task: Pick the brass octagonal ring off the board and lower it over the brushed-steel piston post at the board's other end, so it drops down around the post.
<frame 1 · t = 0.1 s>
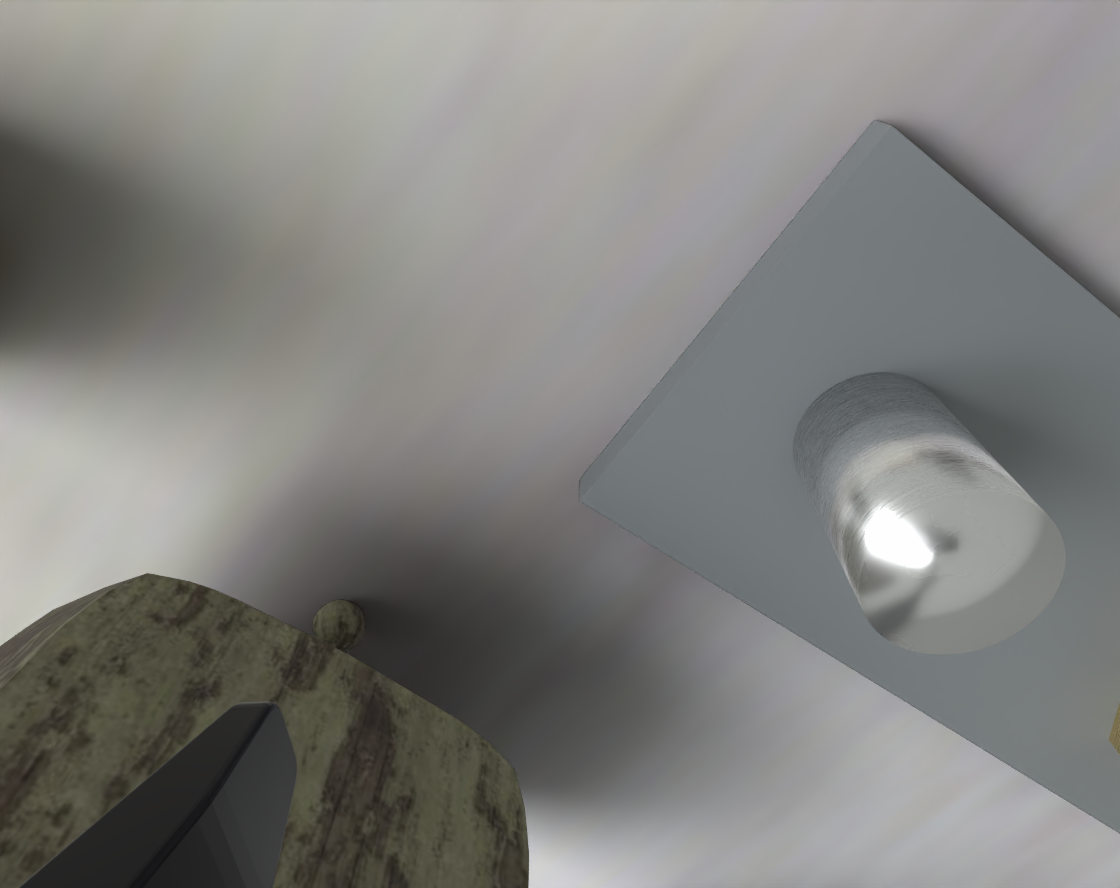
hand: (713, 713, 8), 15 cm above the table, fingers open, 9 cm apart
fit board: (1045, 558, 25), on the table
tabletop clock: (320, 643, 27), on the table
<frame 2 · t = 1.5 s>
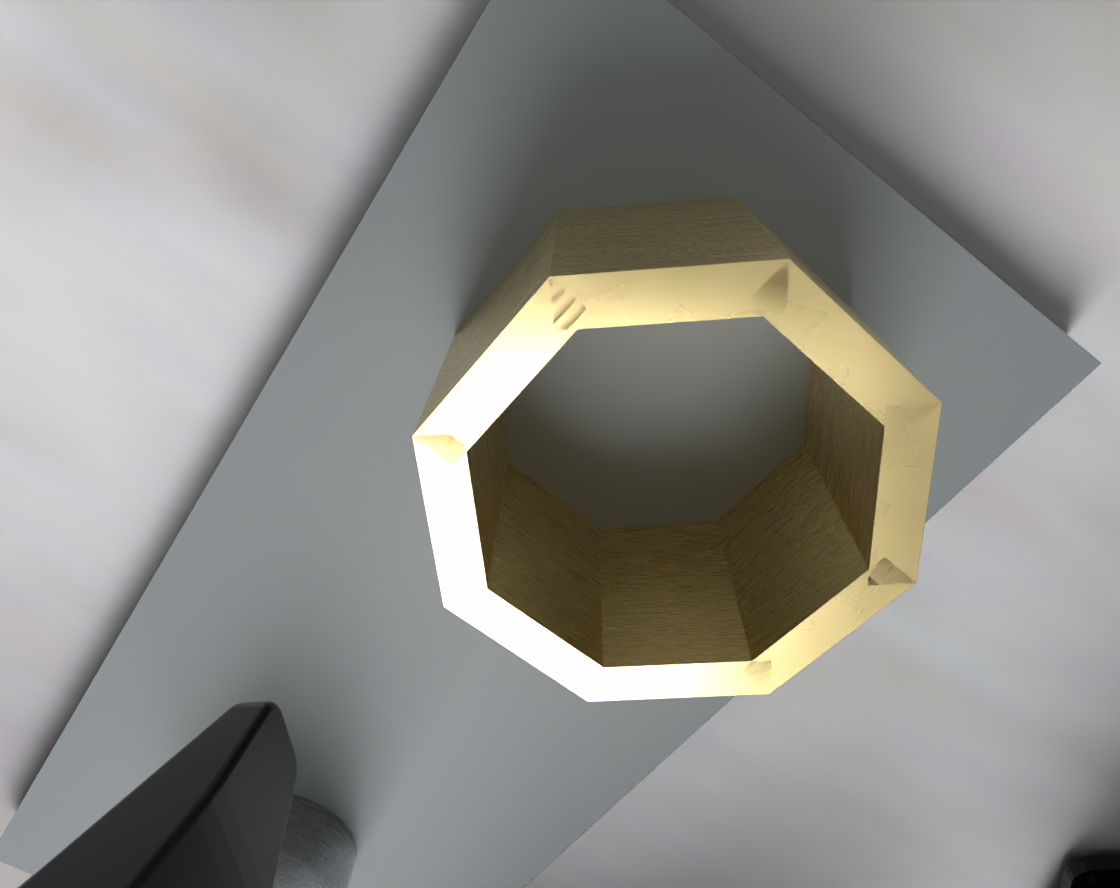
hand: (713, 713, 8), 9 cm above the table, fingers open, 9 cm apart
fit board: (443, 623, 19), on the table
brass ring: (652, 397, 15), point 1 cm above the table, touching fit board
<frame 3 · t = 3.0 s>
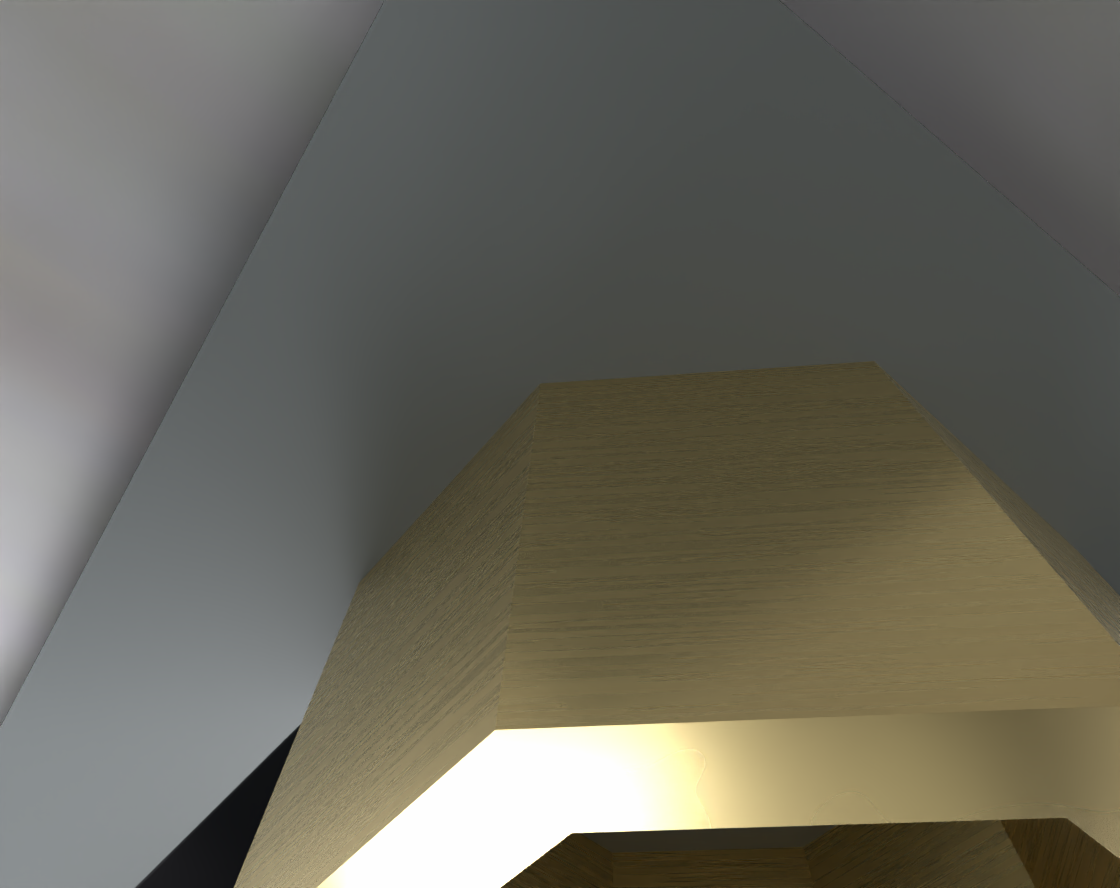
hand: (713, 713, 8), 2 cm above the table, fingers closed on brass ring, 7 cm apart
brass ring: (706, 676, 9), point 1 cm above the table, touching fit board, gripper
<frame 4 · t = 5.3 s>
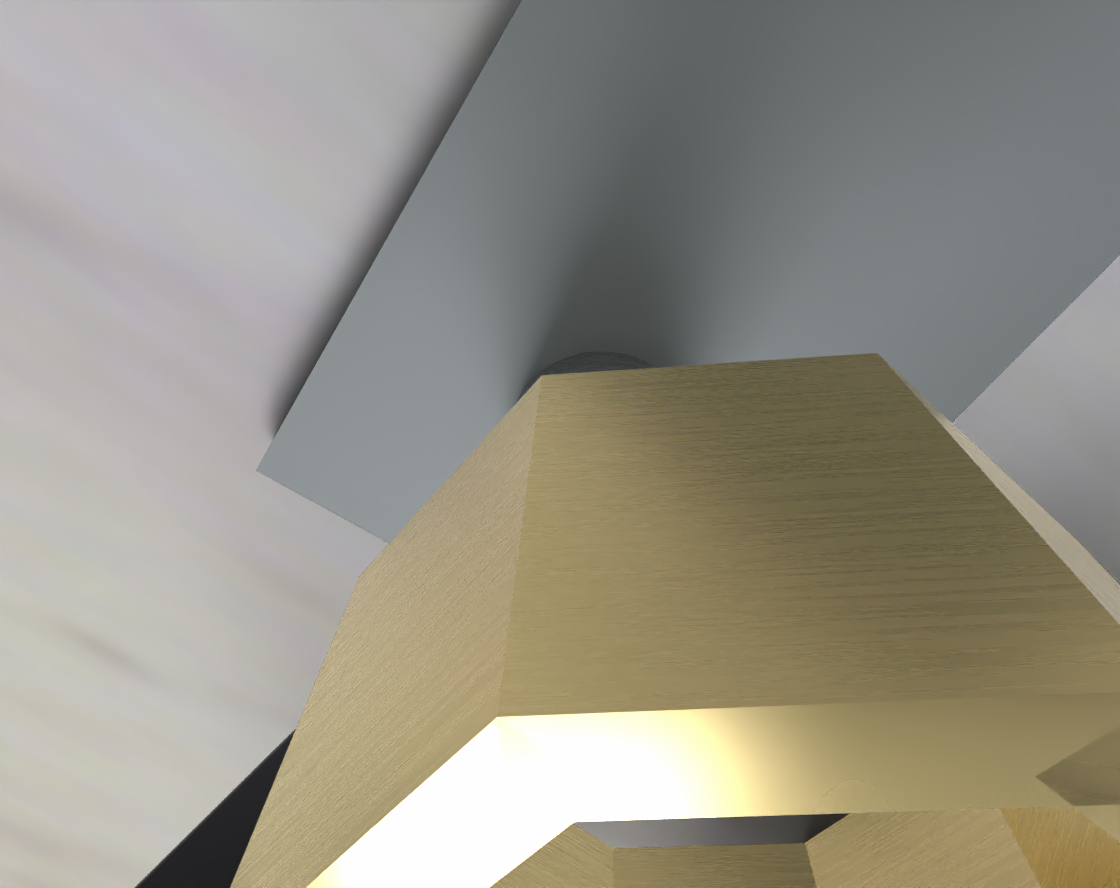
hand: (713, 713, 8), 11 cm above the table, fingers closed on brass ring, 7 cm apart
fit board: (828, 116, 16), on the table
brass ring: (707, 670, 9), point 11 cm above the table, touching gripper
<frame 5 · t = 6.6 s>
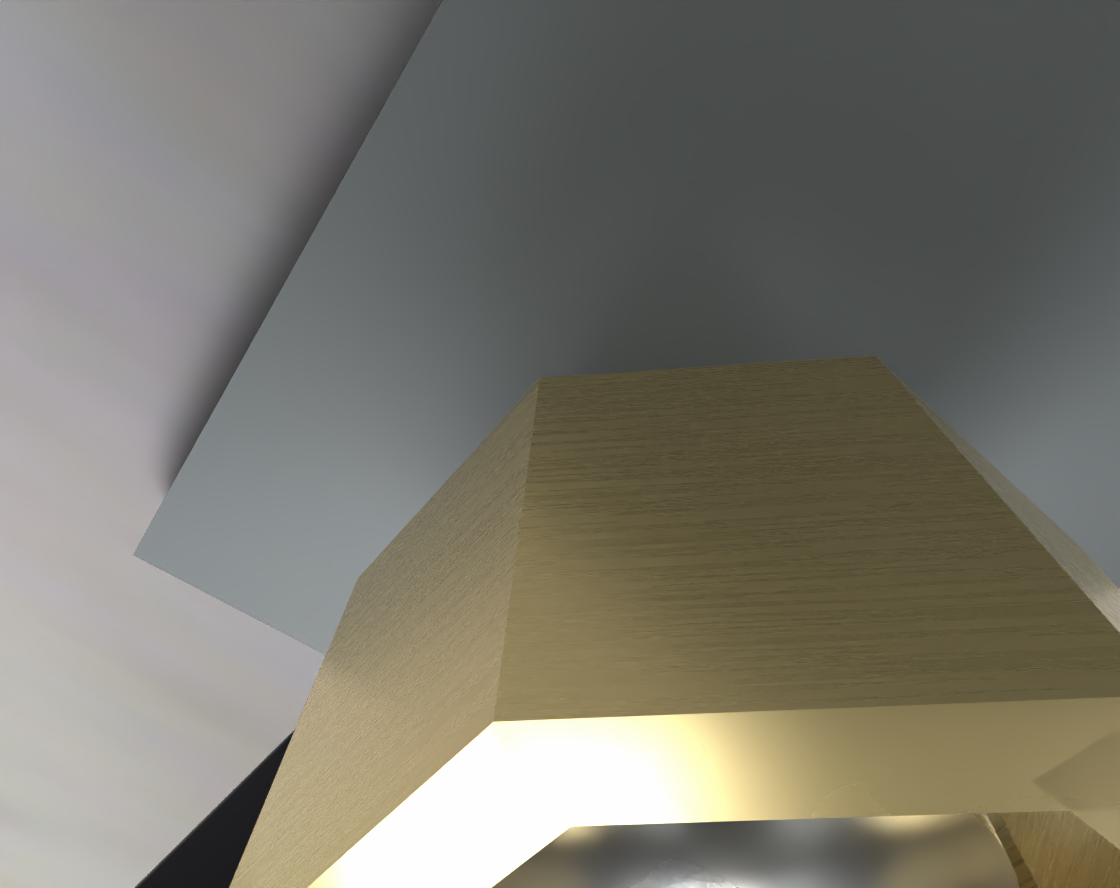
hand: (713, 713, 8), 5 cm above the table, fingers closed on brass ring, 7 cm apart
fit board: (1079, 6, 10), on the table
brass ring: (706, 672, 9), point 4 cm above the table, touching gripper
when the fingers open (4 cm above the table, at t = 7.7 s): brass ring drops 2 cm, resting on fit board.
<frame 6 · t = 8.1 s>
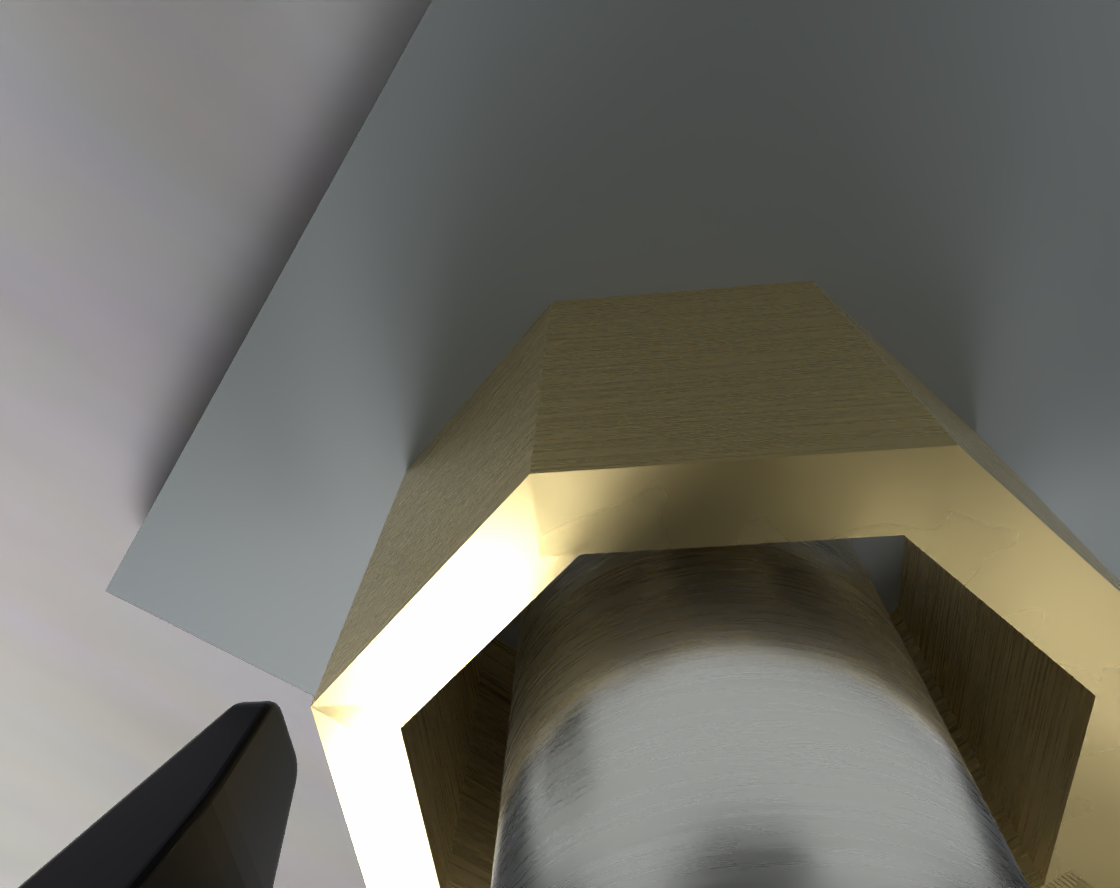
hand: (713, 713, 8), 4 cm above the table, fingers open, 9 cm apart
brass ring: (687, 549, 11), point 1 cm above the table, touching fit board
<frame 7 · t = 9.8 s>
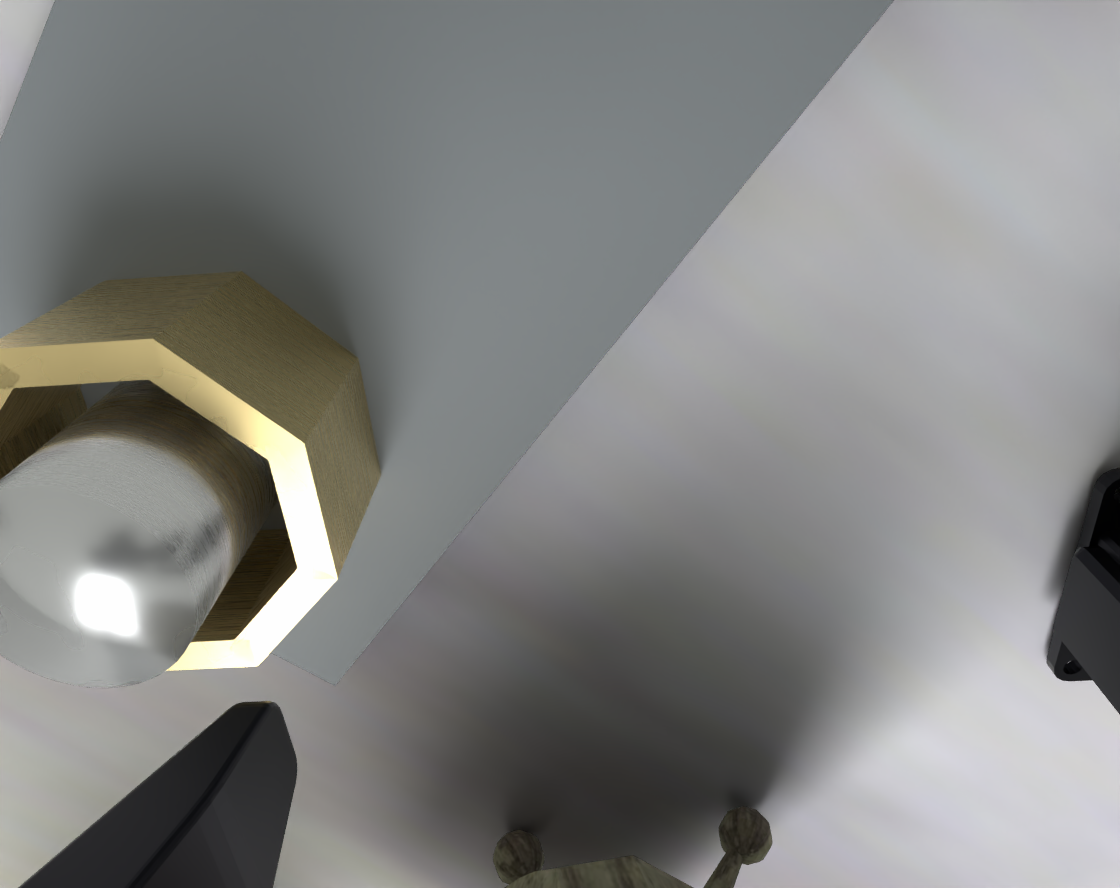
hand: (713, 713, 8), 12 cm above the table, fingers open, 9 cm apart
fit board: (402, 127, 17), on the table
brass ring: (217, 427, 18), point 1 cm above the table, touching fit board
tabletop clock: (568, 853, 27), on the table
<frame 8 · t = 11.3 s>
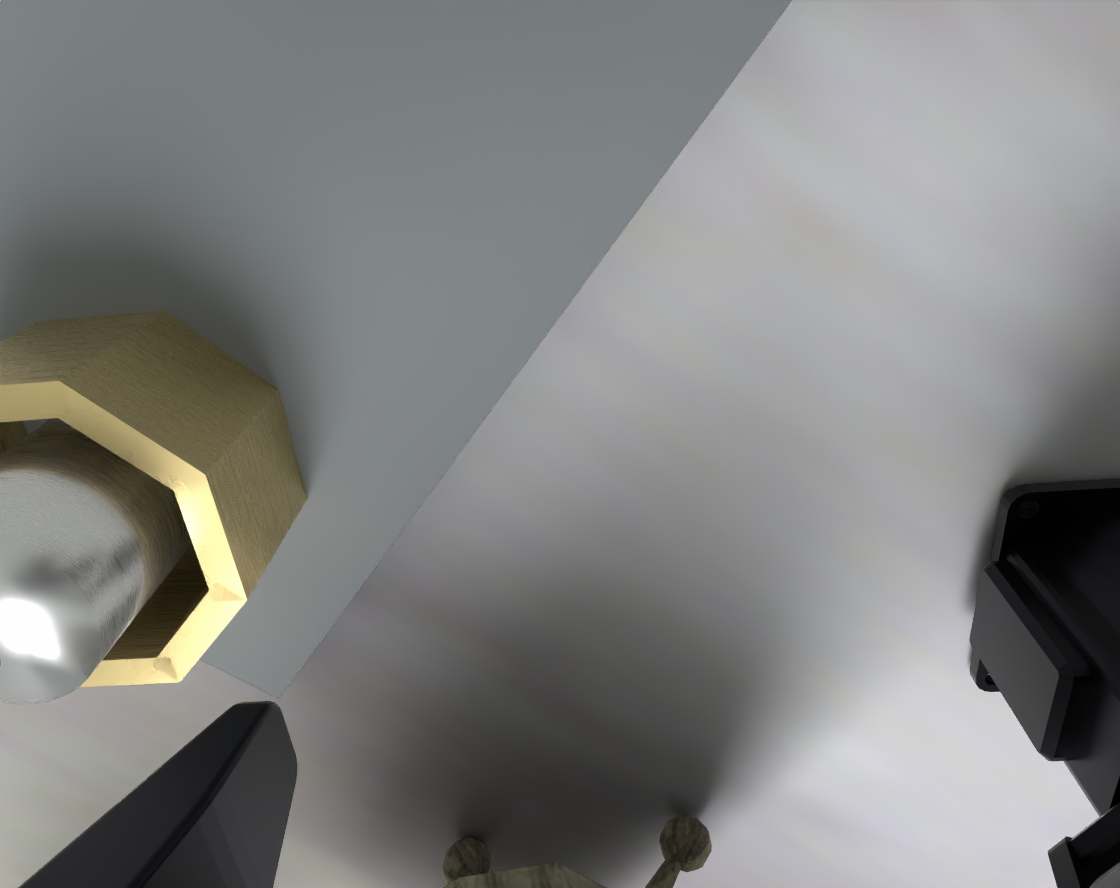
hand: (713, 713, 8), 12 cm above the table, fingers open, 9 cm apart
fit board: (312, 173, 18), on the table
brass ring: (151, 455, 20), point 1 cm above the table, touching fit board
tabletop clock: (519, 861, 28), on the table
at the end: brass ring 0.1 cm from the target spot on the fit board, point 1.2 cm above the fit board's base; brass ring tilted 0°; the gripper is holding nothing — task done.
